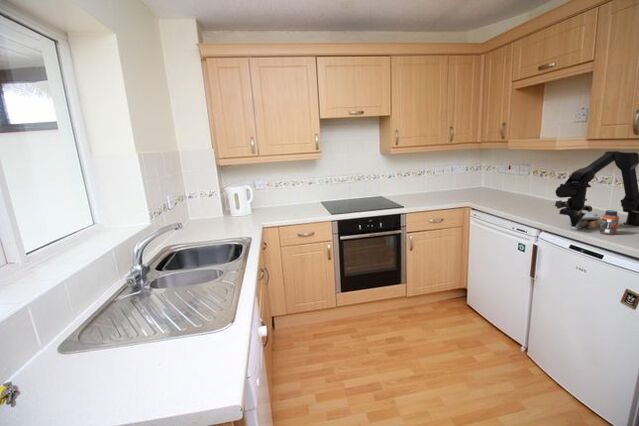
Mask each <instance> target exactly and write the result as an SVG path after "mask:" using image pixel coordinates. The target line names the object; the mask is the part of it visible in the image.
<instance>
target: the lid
mask: <svg viewBox="0 0 639 426" xmlns="http://www.w3.org/2000/svg"><path fill="white" fill-rule="evenodd" d="M565 218H568V219H570V217H569V216H568V215H565ZM582 219H601V217H600V216H599V214H597V213H596V214H595V213H594V214H585V215H584V216H583V217H582Z"/></svg>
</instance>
